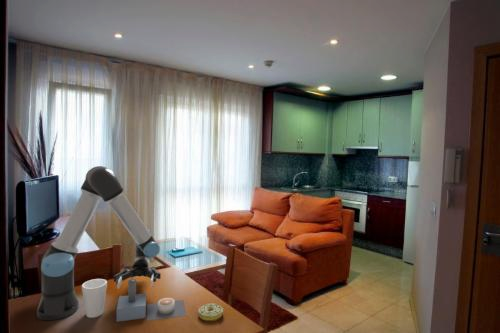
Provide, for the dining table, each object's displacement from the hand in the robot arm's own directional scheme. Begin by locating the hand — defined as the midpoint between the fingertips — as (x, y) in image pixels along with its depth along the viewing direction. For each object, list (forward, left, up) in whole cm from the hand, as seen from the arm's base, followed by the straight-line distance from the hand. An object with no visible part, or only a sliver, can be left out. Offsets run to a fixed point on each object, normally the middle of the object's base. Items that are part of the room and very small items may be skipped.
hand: (135, 284), depth 133 cm
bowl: (+13, -3, -11) cm, 17 cm away
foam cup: (-16, +2, -12) cm, 20 cm away
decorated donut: (+31, -12, -12) cm, 35 cm away
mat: (+13, -3, -11) cm, 18 cm away
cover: (-1, -2, -11) cm, 12 cm away
